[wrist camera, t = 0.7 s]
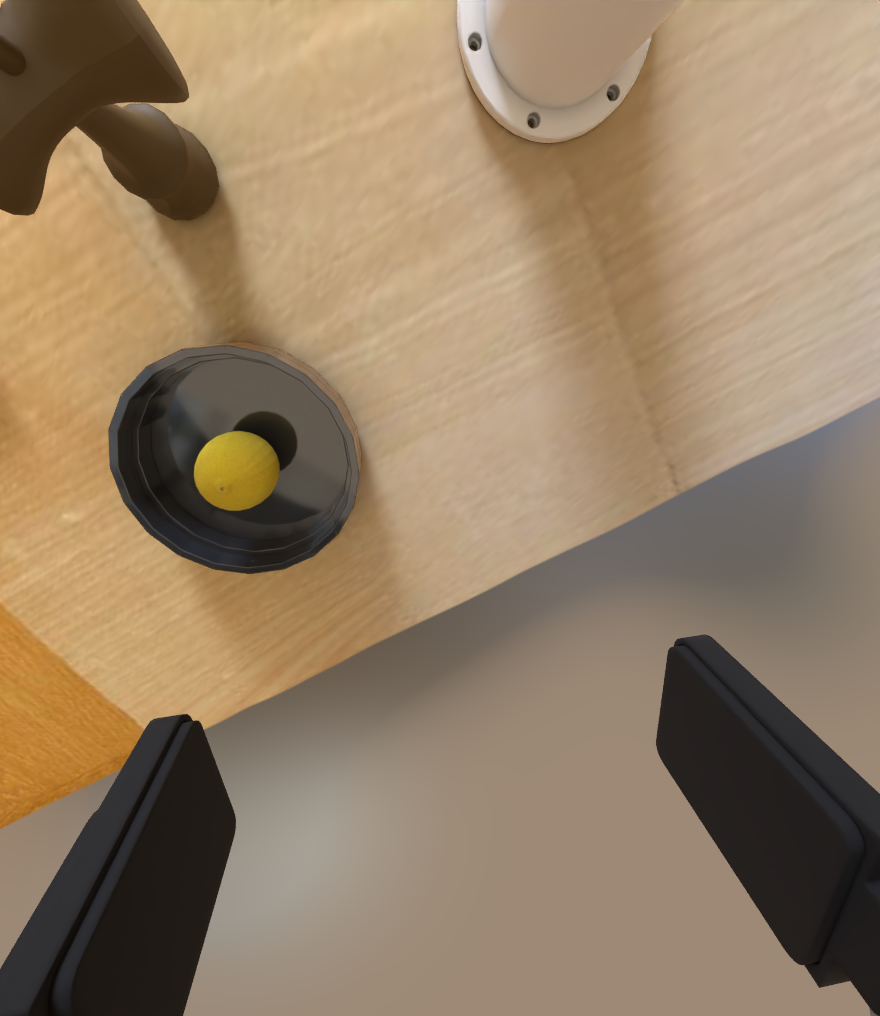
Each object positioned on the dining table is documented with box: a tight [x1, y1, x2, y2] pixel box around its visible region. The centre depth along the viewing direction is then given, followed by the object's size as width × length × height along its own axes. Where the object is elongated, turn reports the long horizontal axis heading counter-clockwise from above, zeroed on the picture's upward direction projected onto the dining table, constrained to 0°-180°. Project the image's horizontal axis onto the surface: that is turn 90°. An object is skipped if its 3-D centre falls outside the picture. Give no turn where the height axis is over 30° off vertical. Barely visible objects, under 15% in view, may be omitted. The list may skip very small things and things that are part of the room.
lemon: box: [194, 431, 280, 511], centre depth 33 cm, size 6×6×8 cm
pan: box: [108, 342, 362, 574], centre depth 35 cm, size 17×17×4 cm
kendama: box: [0, 0, 219, 220], centre depth 21 cm, size 6×10×20 cm, turn 122°
